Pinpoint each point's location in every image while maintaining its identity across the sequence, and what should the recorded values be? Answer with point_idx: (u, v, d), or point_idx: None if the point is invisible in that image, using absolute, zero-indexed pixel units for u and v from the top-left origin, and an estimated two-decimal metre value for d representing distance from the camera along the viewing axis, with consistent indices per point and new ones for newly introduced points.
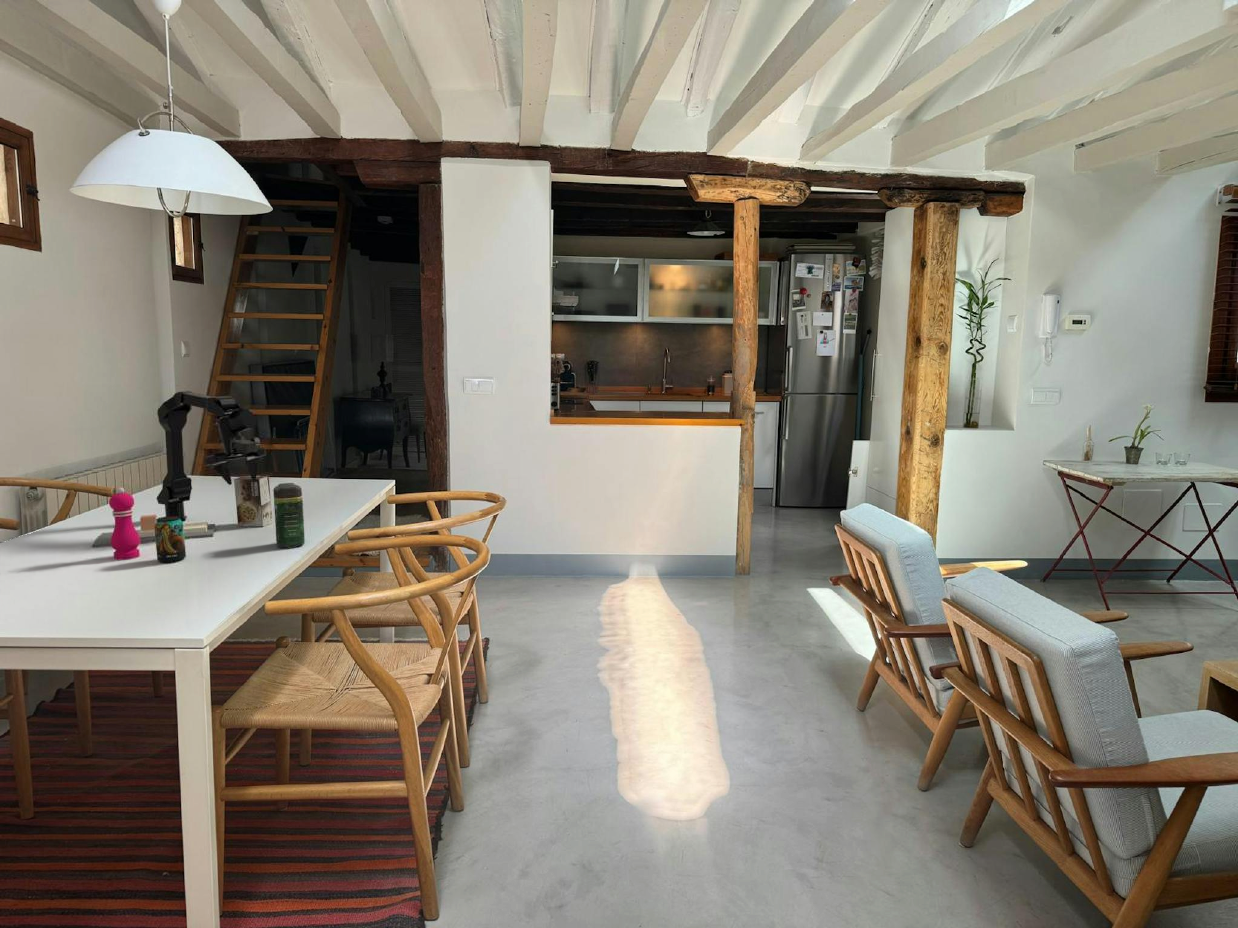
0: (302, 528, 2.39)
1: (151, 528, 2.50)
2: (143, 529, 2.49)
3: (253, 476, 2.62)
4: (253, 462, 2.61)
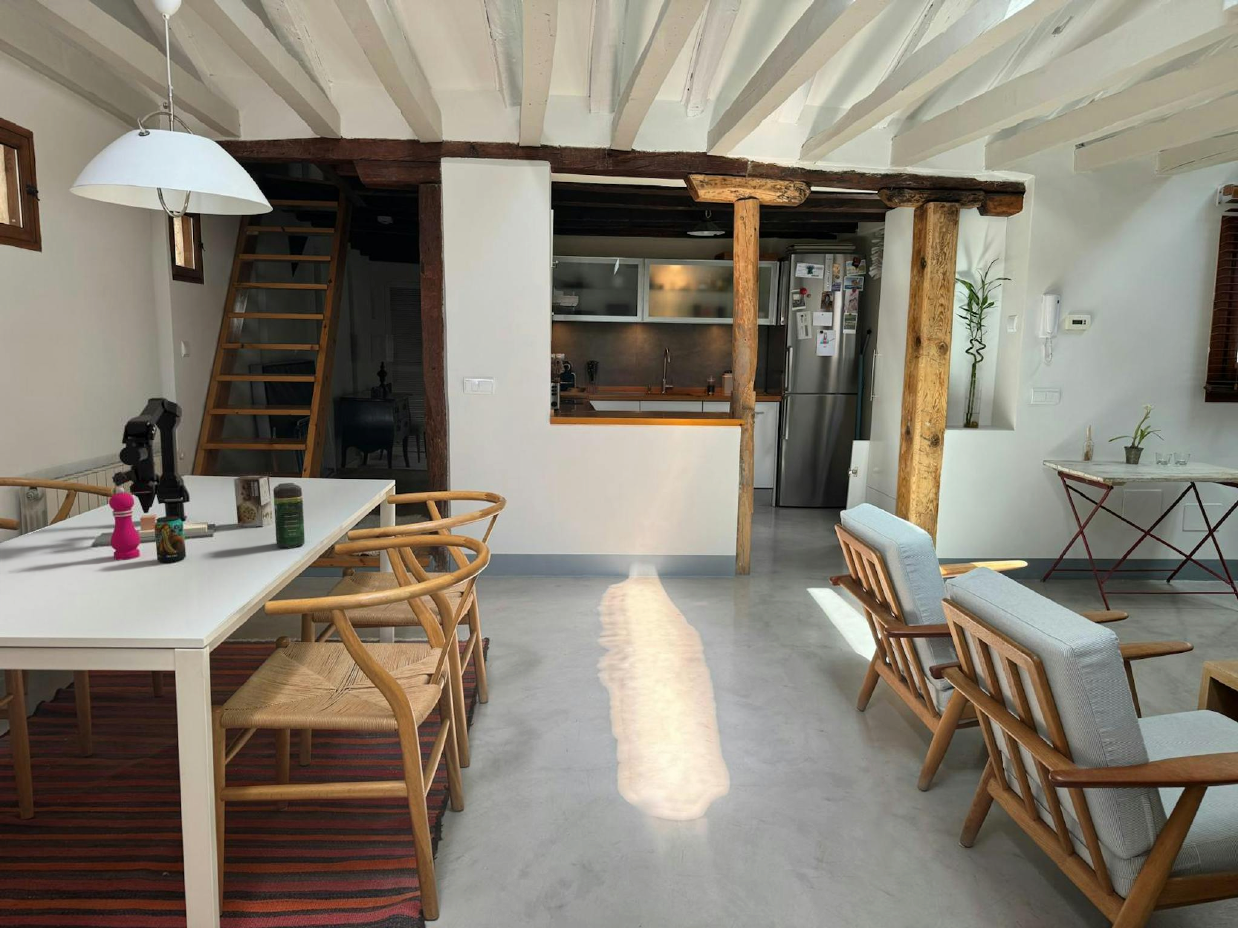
0: (302, 528, 2.39)
1: (151, 528, 2.50)
2: (143, 529, 2.49)
3: None
4: None
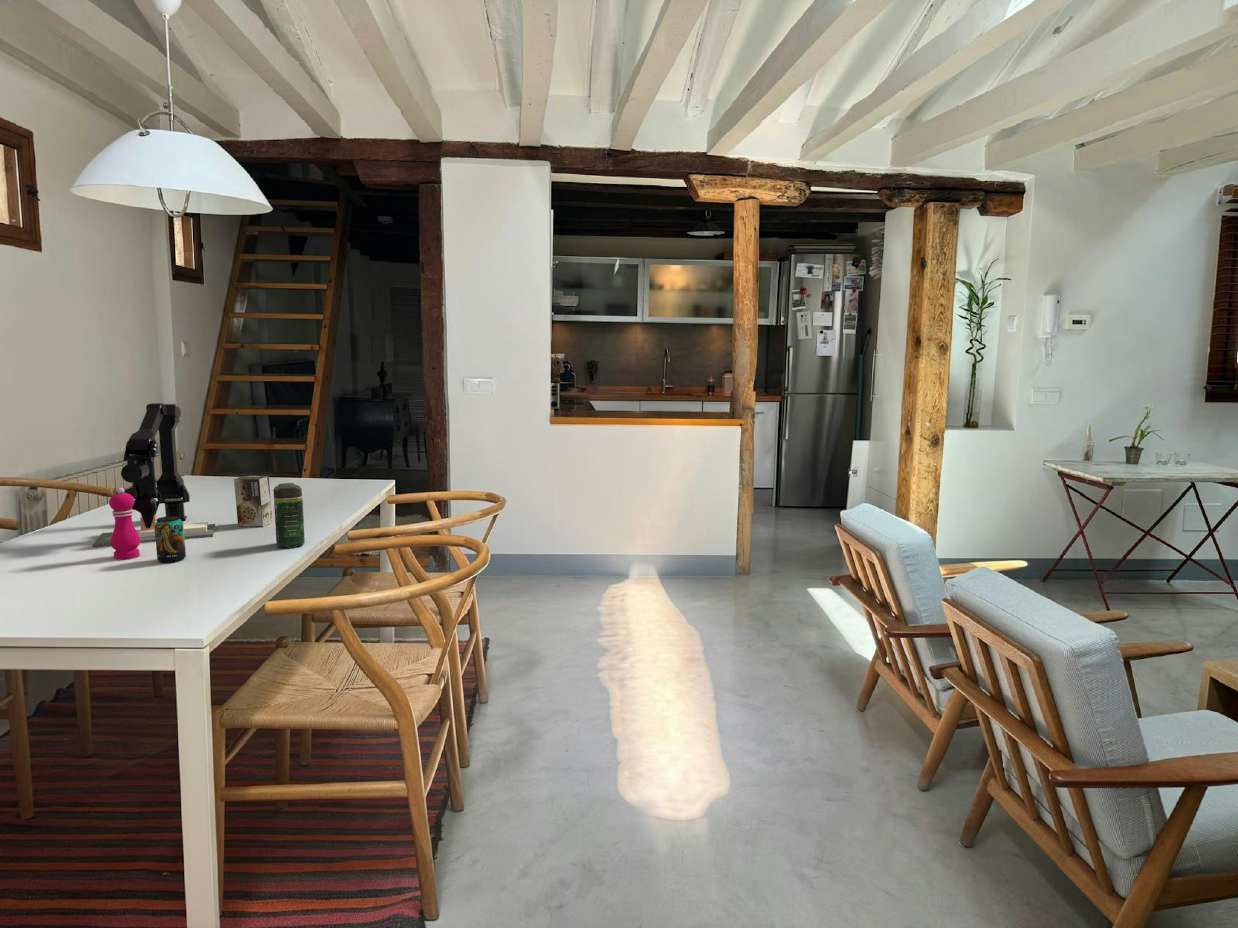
0: (302, 528, 2.39)
1: (151, 528, 2.50)
2: (143, 529, 2.49)
3: None
4: None
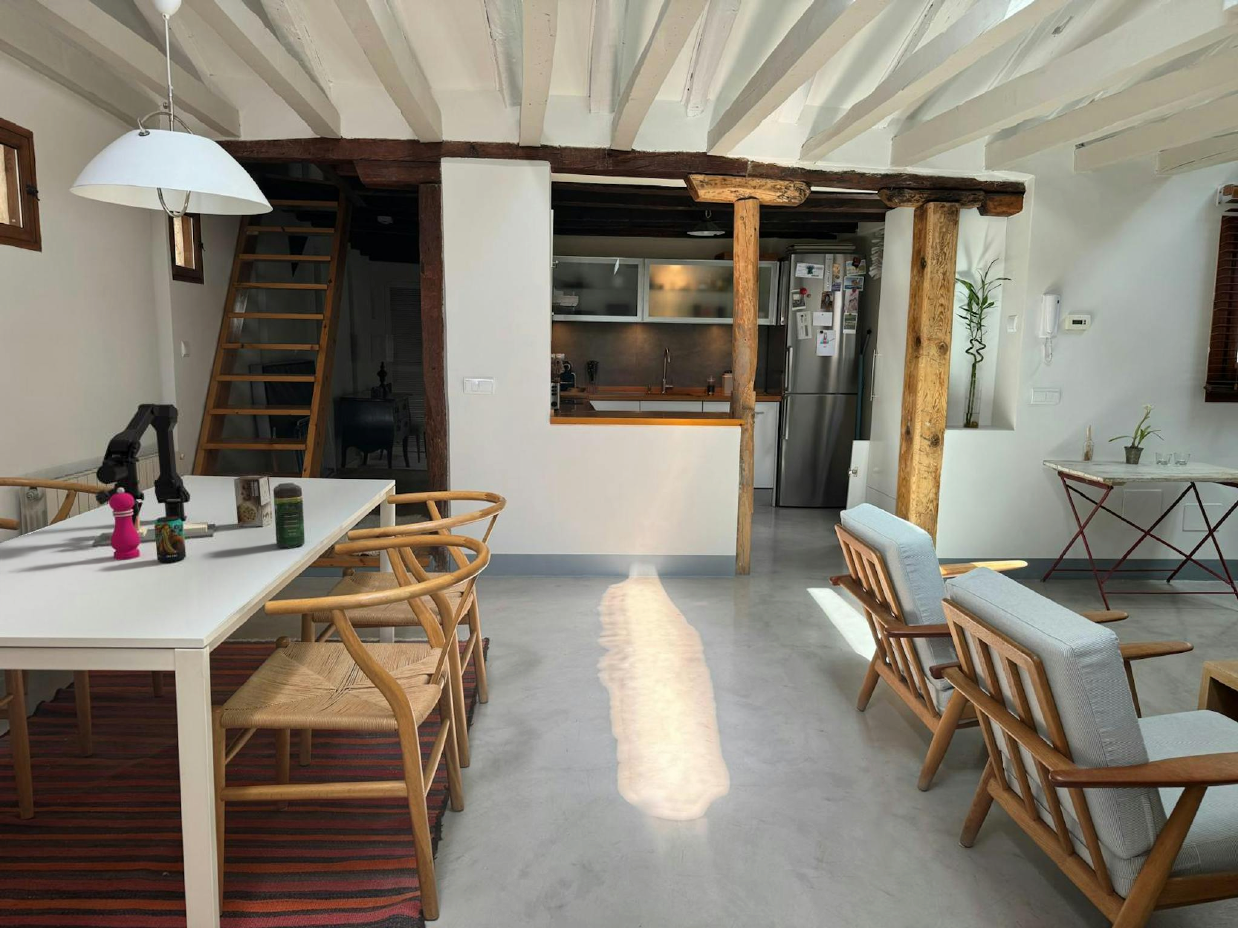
0: (302, 528, 2.39)
1: None
2: None
3: None
4: None
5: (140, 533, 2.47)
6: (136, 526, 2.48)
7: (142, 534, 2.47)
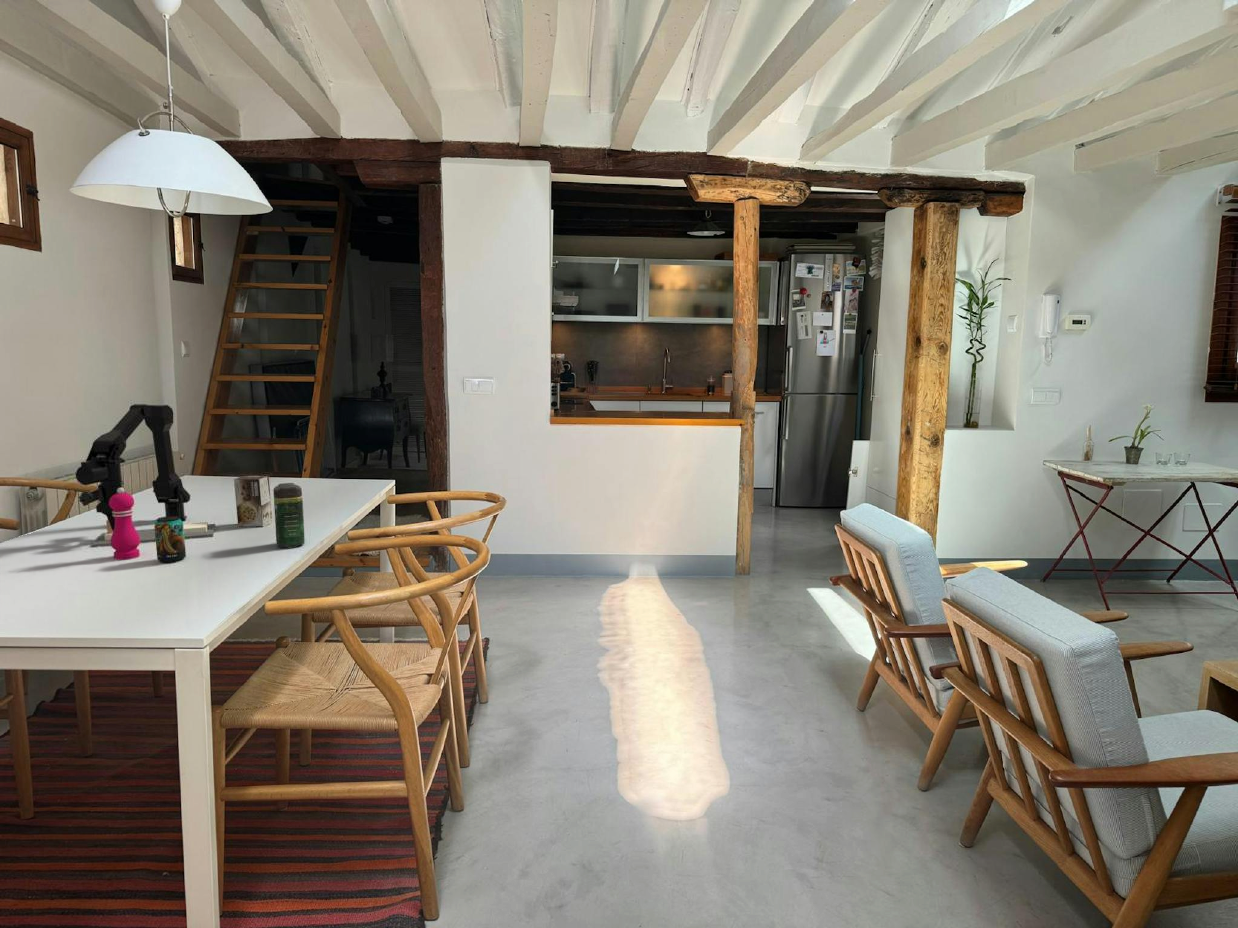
0: (302, 528, 2.39)
1: None
2: (109, 532, 2.45)
3: None
4: None
5: None
6: None
7: None
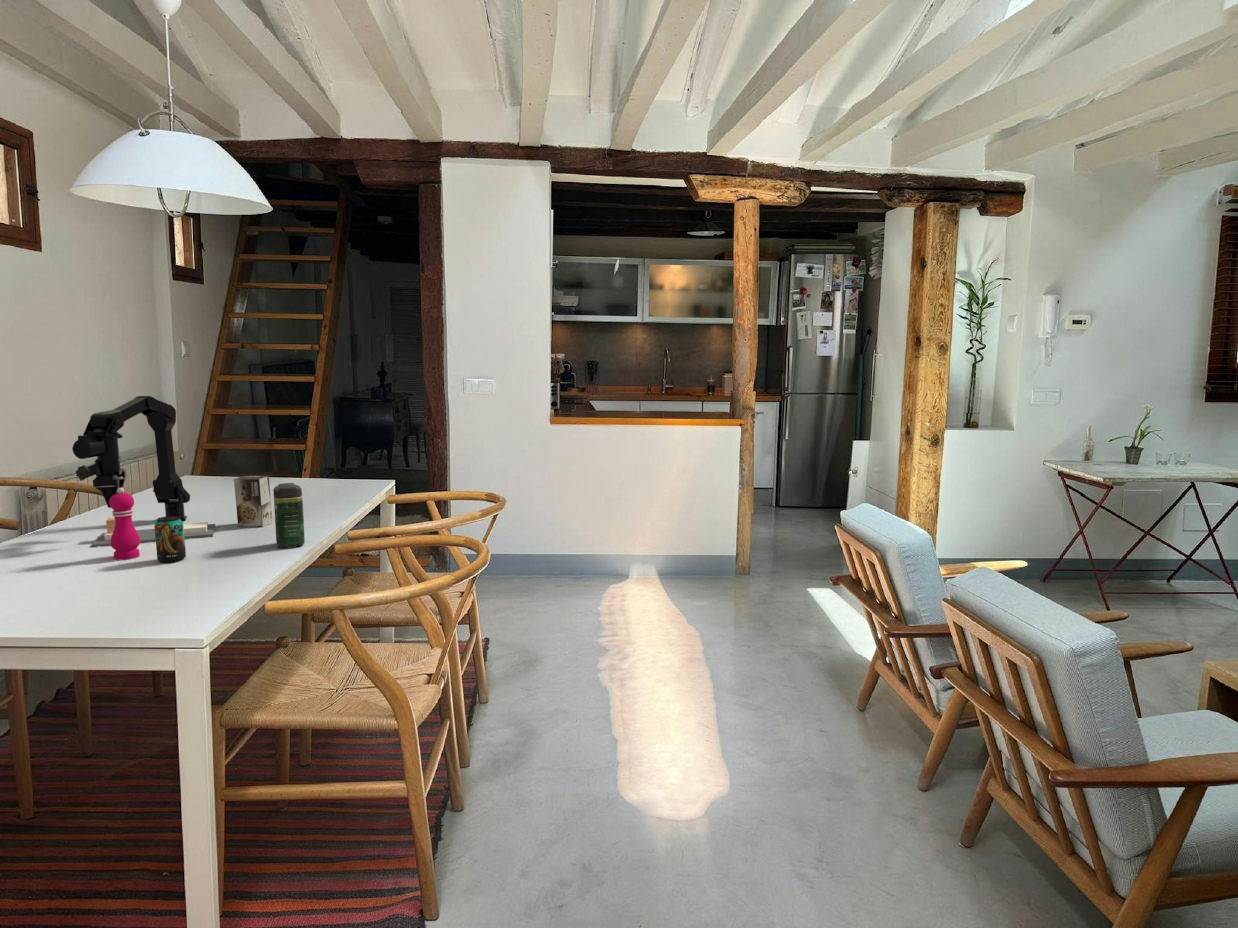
0: (302, 528, 2.39)
1: None
2: (109, 532, 2.45)
3: None
4: None
5: None
6: None
7: None
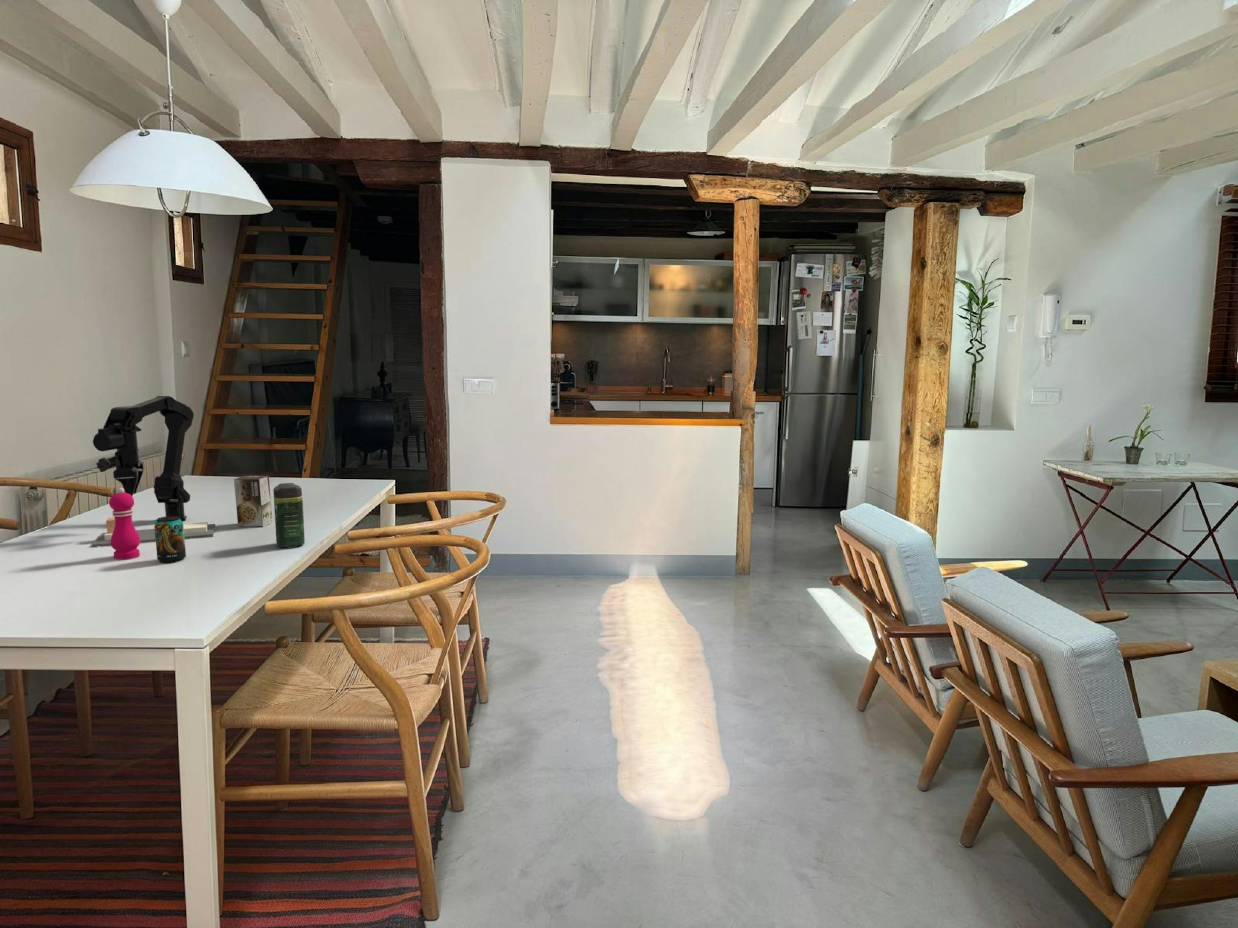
0: (302, 528, 2.39)
1: None
2: (109, 532, 2.45)
3: None
4: None
5: None
6: None
7: None
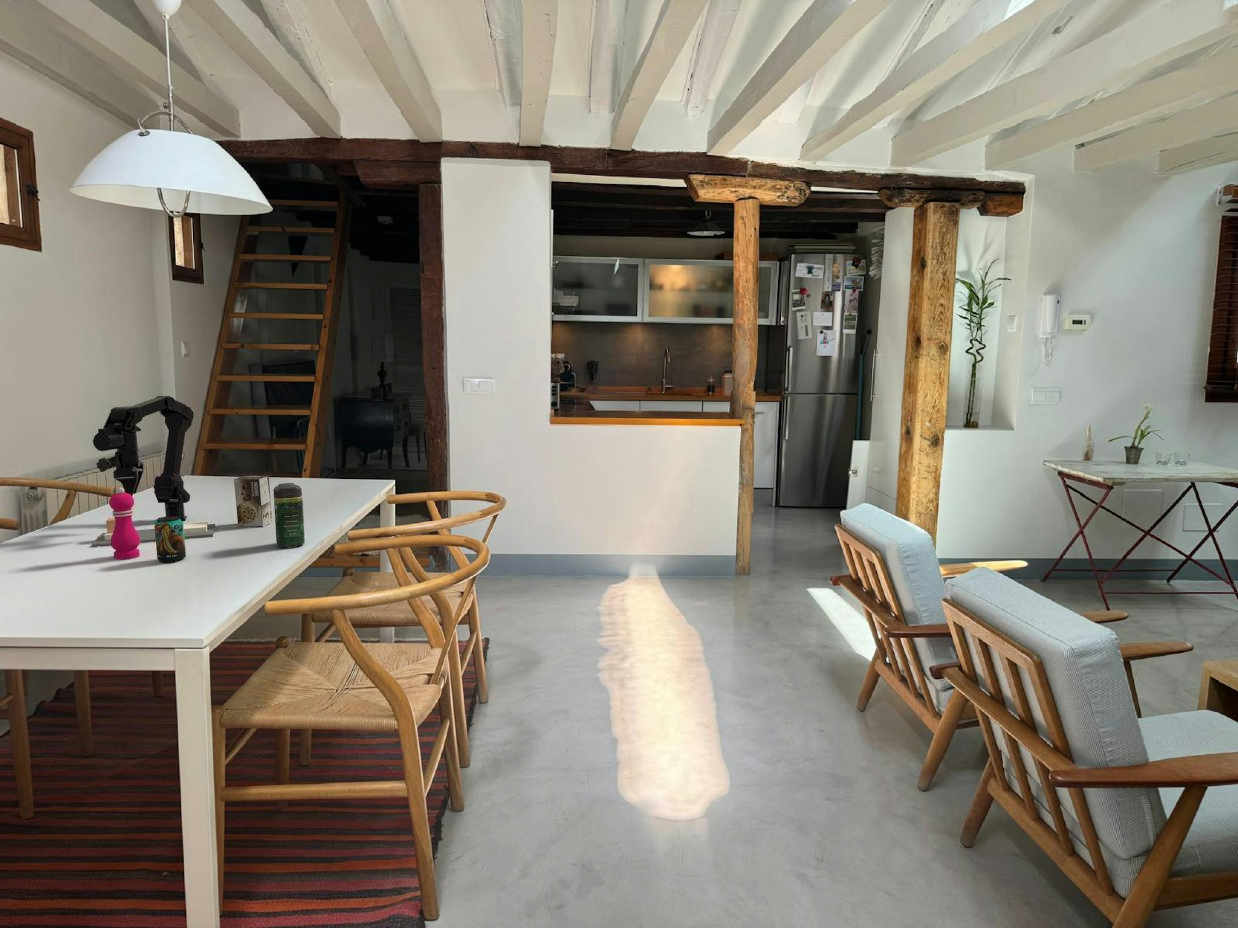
0: (302, 528, 2.39)
1: None
2: (109, 532, 2.45)
3: None
4: None
5: None
6: None
7: None
